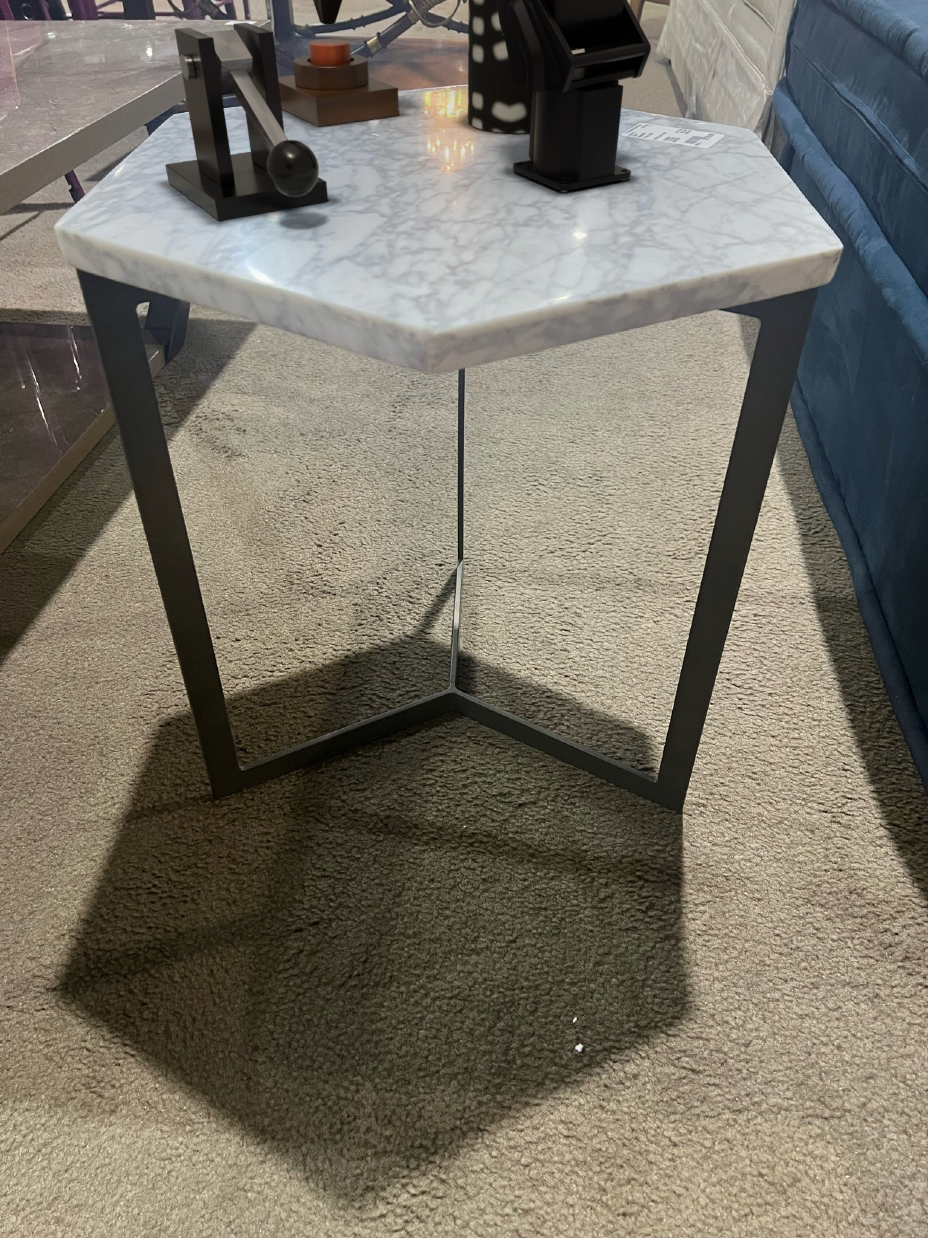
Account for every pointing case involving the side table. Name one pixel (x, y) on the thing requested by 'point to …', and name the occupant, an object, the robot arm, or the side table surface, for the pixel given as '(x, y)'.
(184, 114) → the side table surface
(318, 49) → the button
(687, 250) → the side table surface
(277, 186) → the lever
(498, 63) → the spotted black cylinder
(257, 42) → the bracket
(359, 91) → the button block
